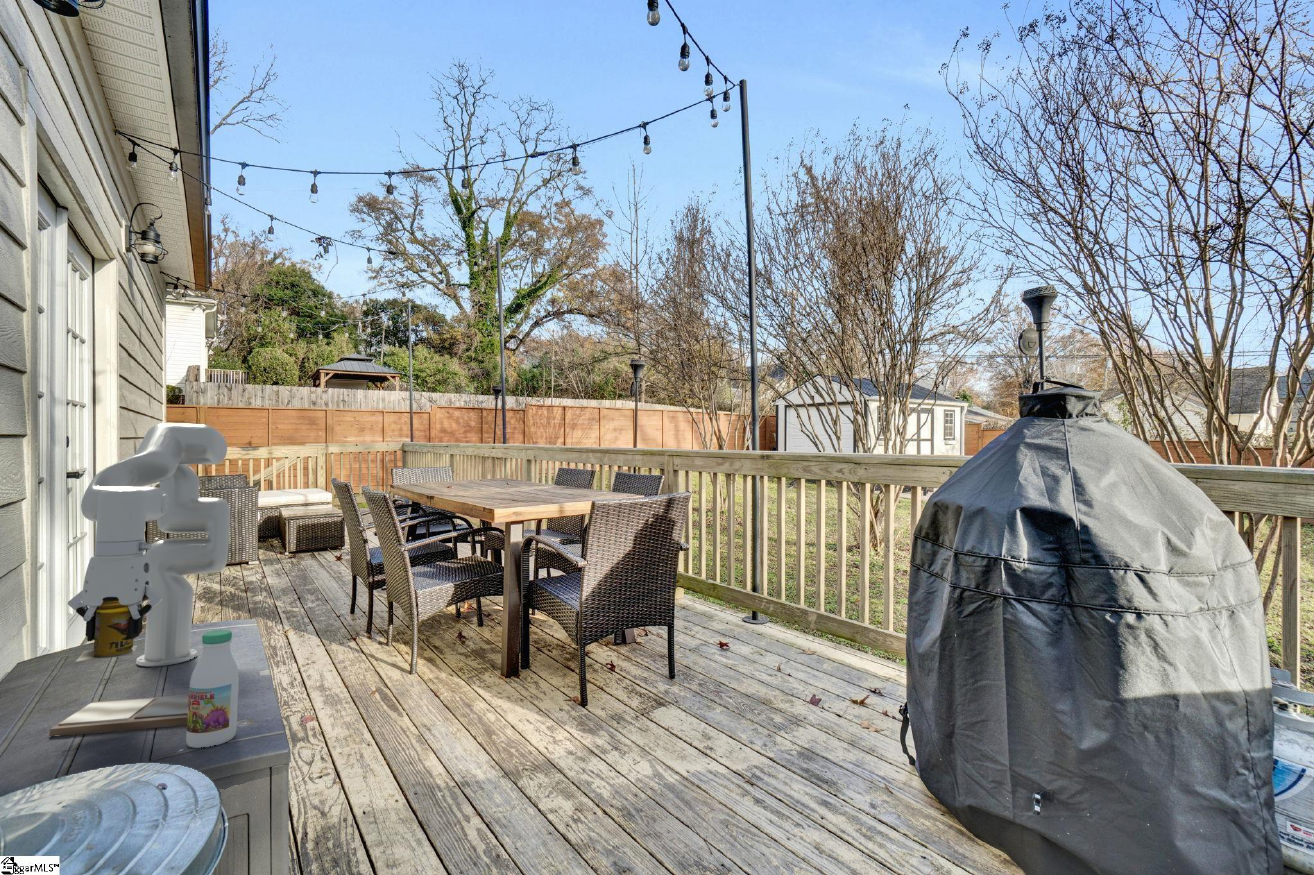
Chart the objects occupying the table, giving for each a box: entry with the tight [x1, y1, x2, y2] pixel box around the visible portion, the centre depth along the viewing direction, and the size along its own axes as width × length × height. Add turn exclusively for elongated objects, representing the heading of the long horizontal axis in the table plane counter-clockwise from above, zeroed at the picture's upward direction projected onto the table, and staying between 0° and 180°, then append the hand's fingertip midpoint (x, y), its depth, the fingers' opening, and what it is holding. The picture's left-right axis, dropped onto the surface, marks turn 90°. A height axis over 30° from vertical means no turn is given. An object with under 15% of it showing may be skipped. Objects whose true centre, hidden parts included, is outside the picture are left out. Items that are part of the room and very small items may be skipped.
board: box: [49, 694, 189, 737], centre depth 127 cm, size 14×24×2 cm, turn 108°
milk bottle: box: [185, 629, 240, 749], centre depth 117 cm, size 8×8×20 cm
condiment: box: [75, 597, 138, 662], centre depth 126 cm, size 7×8×12 cm
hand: (113, 637), depth 126 cm, fingers closed on condiment, 6 cm apart
